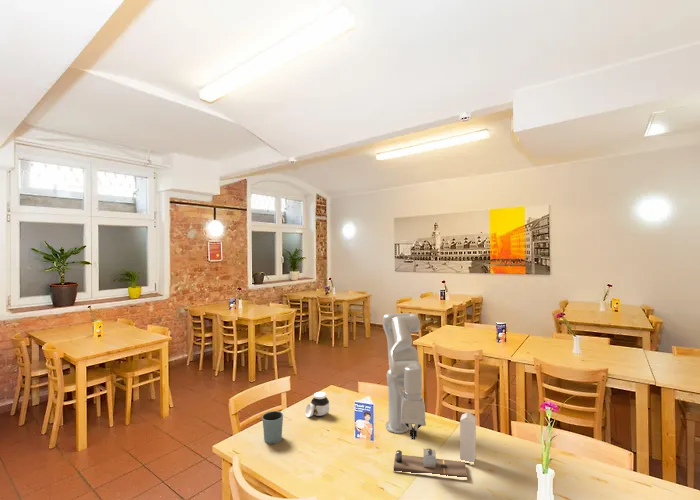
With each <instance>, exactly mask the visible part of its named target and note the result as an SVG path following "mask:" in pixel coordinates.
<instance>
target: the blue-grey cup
mask: <svg viewBox="0 0 700 500" xmlns="http://www.w3.org/2000/svg"><path fill="white" fill-rule="evenodd" d="M261 418H262V419H261V420H262V427H263V428H262V429H263V439H264V442H265V444H269V445H274V444H278V443H280V442H281V441H282V438H283V434H282V433H283V425H284V423H283V420H284V413H283V412H282V411H279V410H272V411H268V412H265V413H263V415H262V417H261Z"/></svg>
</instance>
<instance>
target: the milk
mask: <svg viewBox="0 0 700 500" xmlns="http://www.w3.org/2000/svg"><path fill="white" fill-rule="evenodd" d="M459 424H460V425H459V460H460V459H461V460H465V461H469V462H474V461H475V462H476V460H475V457H476V455H477V454H476V453H477V445H476V443H477V438H476V437H477V436H476V435H477V434H476V433H477V431H476V429H477V418H476V416H475V415H474V414H473V413H471V412H470V409H468V410H467V412H465V413H462V414H461V416H460V422H459ZM476 458H477V457H476Z"/></svg>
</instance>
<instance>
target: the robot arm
mask: <svg viewBox="0 0 700 500" xmlns="http://www.w3.org/2000/svg"><path fill="white" fill-rule="evenodd" d="M381 321H382V328H383V331H384V333H385V336H386V341H387V342H386V343H387V355H388V367H389V369H388V370H387V372H386V381H387V389H388V390H387V392H388V395H387V397H388V398H387V399H388V421H387V422H386V423H385V429H386V430H387V431H389V432H390V433H393V432H394V434H404V432H405V433H407V432H409V437H411V439H410V440H416V438H417V436H418V430H419V429H420V428H421V427H425V426H426V425H427V421H426V407H425V400H424V398H423V373H422V372H423V371H422V370H423V369H422V365H421V363H420V358H419V354H418V350H417V348H416V347H415V346H412V345H413V337H412V335H411V333H419V332H420V330H421V321H420V318H419V316H417V314H414V313H412V312H411V313H409V312H407V313H406V312H402V313H401V312H399V313H398V312H397V313H395V312H391V313H385V314H384V315H383V317H382V320H381ZM413 425H414V426H413Z"/></svg>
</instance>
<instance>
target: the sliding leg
mask: <svg viewBox="0 0 700 500" xmlns="http://www.w3.org/2000/svg"><path fill="white" fill-rule="evenodd" d="M423 457H424V467H430V468H436V459H437V457H436V449H432V448H423Z"/></svg>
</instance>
